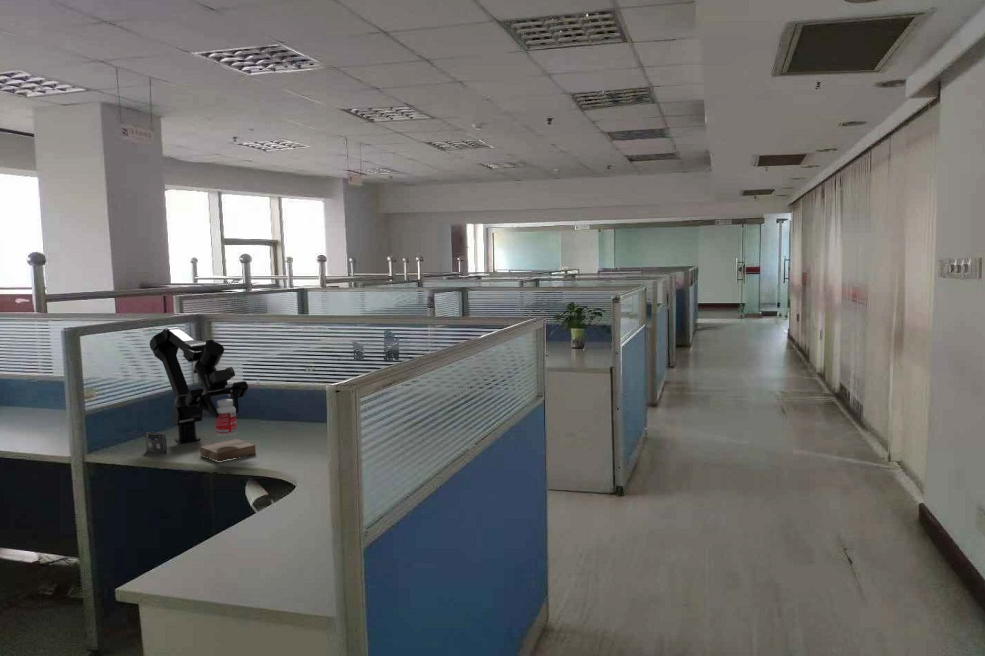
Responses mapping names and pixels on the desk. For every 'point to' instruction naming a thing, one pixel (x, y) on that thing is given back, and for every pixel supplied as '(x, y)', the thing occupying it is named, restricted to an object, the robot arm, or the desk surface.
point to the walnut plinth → (228, 450)
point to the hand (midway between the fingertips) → (227, 414)
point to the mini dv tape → (156, 442)
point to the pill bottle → (226, 418)
